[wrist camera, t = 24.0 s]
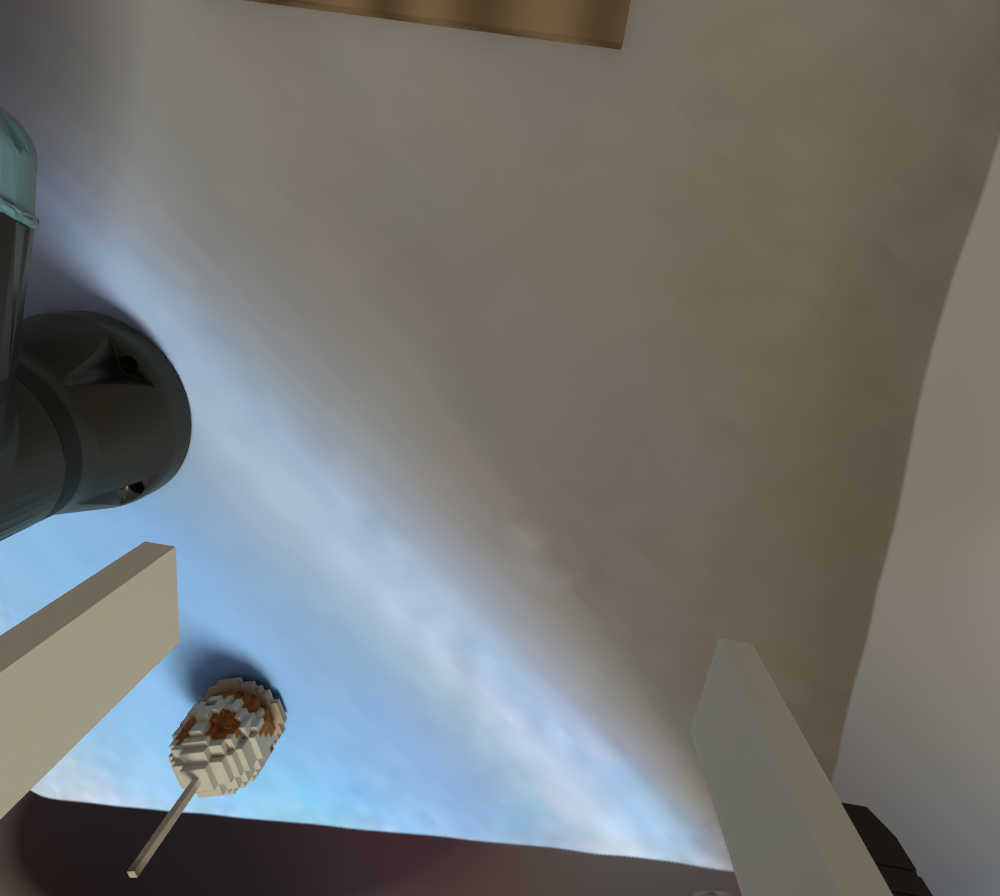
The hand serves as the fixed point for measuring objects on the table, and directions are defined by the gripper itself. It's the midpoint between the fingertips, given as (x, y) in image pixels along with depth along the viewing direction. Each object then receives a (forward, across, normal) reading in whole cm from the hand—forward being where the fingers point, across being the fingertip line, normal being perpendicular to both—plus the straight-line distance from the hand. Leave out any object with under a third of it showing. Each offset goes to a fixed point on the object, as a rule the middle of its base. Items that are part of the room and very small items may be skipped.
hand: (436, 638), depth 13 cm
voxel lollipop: (+29, -20, -33) cm, 48 cm away
